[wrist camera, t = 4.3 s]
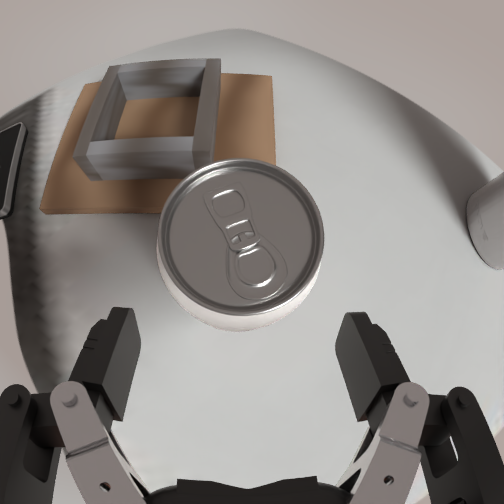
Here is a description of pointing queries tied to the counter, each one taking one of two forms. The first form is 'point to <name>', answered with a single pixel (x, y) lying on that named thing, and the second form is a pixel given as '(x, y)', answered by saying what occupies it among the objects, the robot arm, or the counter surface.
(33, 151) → the counter surface
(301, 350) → the counter surface
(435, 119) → the counter surface
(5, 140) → the external hard drive
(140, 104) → the socket board
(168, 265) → the can
